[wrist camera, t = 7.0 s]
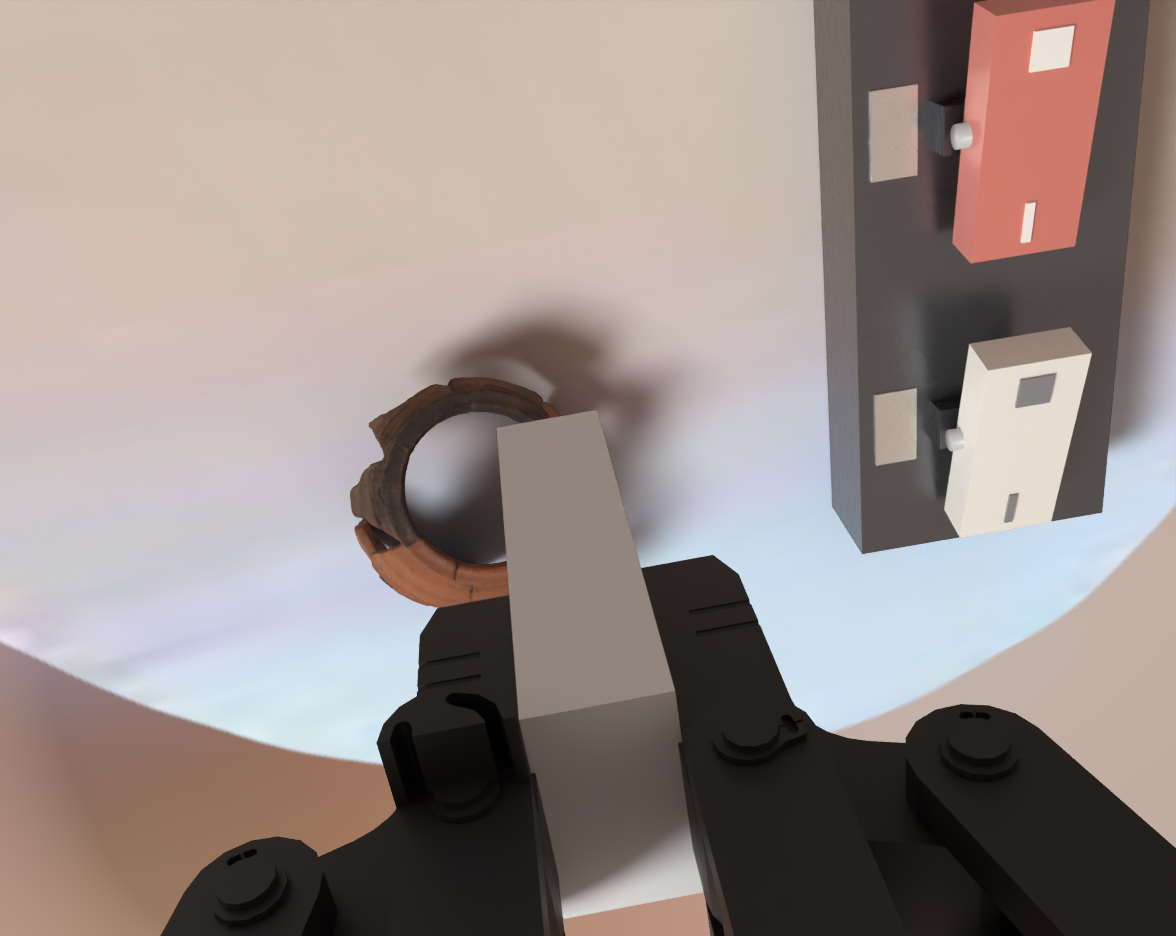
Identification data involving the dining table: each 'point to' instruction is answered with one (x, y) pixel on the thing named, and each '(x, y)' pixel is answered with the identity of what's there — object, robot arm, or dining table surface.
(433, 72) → the dining table surface
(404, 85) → the dining table surface
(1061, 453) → the rocker
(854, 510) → the rocker switch panel
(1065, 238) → the rocker
